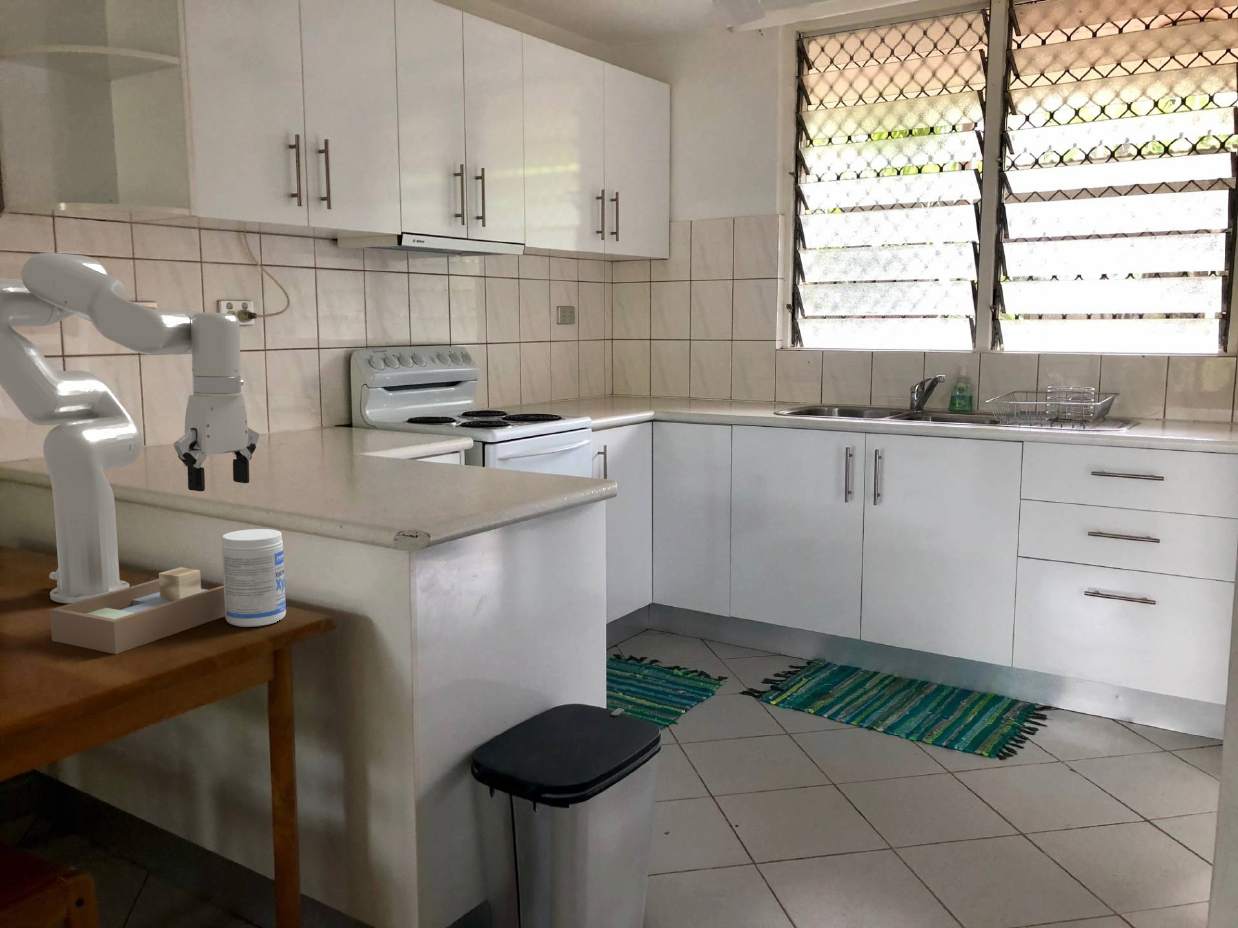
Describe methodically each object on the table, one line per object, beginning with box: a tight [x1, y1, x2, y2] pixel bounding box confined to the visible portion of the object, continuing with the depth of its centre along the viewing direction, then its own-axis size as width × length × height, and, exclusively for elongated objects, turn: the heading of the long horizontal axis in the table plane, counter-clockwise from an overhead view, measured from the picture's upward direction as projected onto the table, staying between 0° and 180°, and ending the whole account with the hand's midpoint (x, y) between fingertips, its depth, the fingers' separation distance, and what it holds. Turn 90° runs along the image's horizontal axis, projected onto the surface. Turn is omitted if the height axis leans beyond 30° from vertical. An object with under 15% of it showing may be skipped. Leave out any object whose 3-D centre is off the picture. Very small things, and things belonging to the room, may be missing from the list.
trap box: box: [49, 578, 226, 655], centre depth 158 cm, size 14×24×5 cm, turn 156°
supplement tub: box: [221, 528, 287, 628], centre depth 161 cm, size 10×10×15 cm
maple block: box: [158, 566, 202, 601], centre depth 163 cm, size 4×4×4 cm
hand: (219, 486), depth 166 cm, fingers open, 9 cm apart
